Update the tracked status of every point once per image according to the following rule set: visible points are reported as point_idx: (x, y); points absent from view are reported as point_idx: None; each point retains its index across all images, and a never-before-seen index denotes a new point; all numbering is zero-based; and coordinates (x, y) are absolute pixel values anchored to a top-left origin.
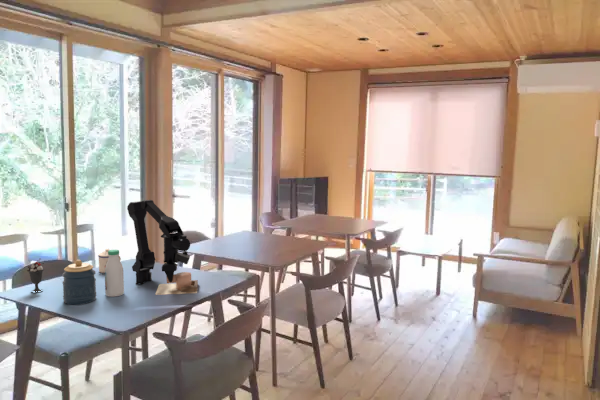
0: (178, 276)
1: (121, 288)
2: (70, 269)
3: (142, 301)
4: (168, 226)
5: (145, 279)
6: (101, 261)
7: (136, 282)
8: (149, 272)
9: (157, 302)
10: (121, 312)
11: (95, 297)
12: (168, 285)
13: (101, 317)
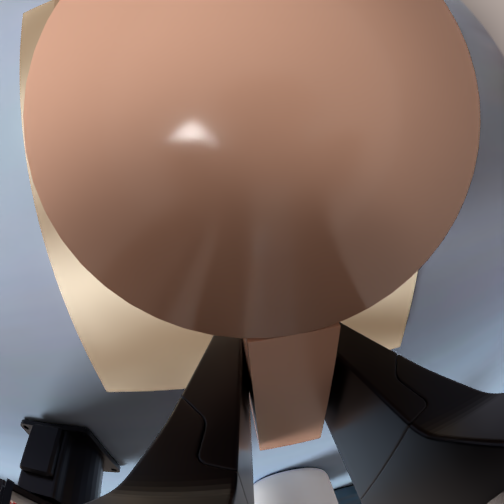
0: (441, 231)
1: (320, 494)
2: None
3: (436, 365)
4: None
5: (85, 463)
6: None
7: (103, 470)
8: (53, 486)
9: (480, 286)
10: (498, 369)
11: (341, 493)
12: (128, 319)
13: (498, 392)
